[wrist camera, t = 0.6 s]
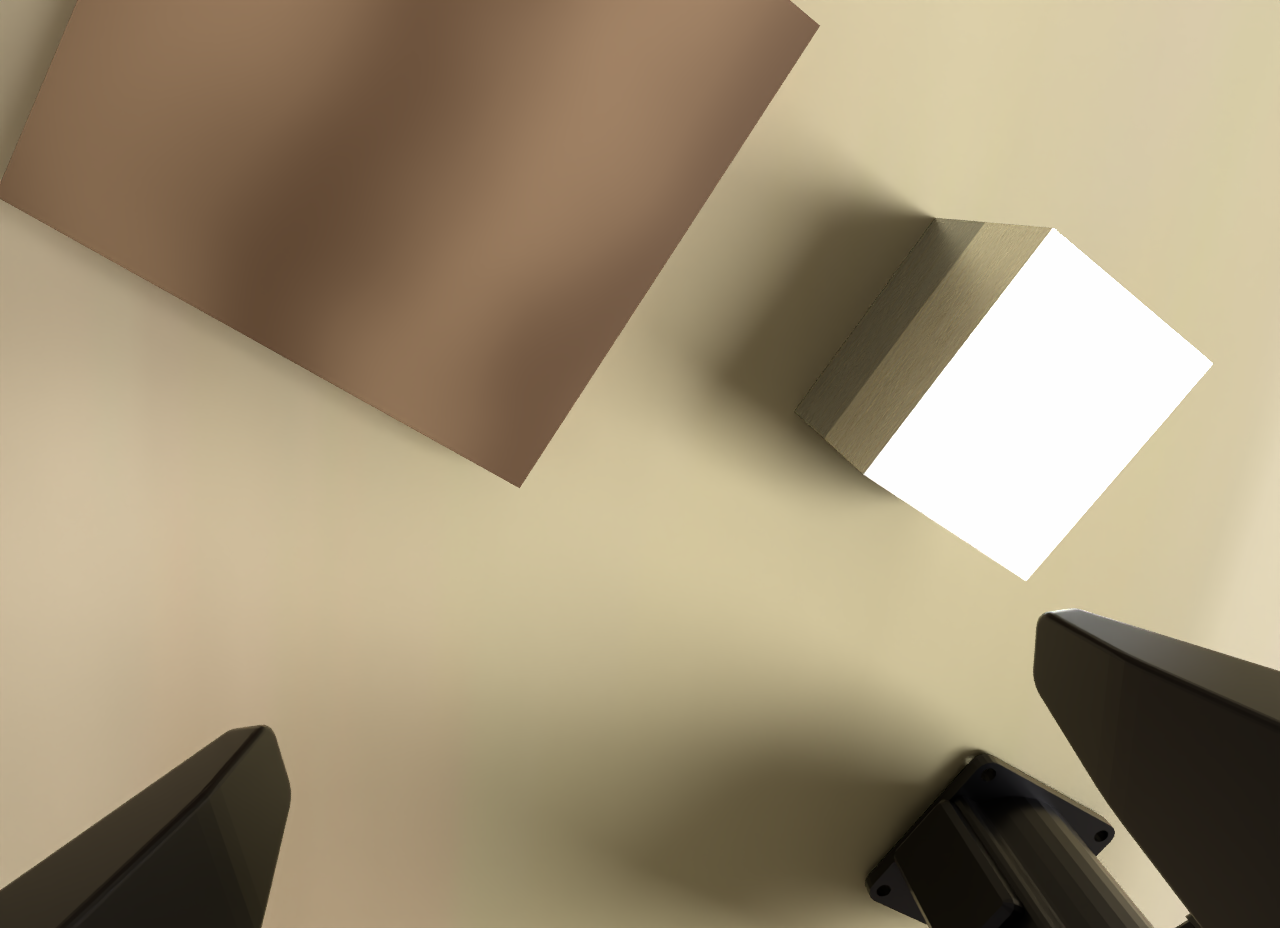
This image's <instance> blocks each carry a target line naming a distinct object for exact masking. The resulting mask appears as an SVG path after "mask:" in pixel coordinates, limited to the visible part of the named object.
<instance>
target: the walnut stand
mask: <svg viewBox="0 0 1280 928" xmlns="http://www.w3.org/2000/svg"><path fill="white" fill-rule="evenodd" d="M819 26H820V25H818V24H817V23H816V22H815V21H814V20H813V19H811V18H810V17H809V16H808V15H807V14H805V13H804V12H803V11H802V10H801V9H800V8H798V7H797V6H796V5H795V4H794V3H792V2H791V1H790V0H77V3H76V5H75V7H74V10H73V12H72V14H71V17H70V19H69V22H68V24H67V26H66V29H65V31H64V33H63V36H62V38H61V41H60V43H59V45H58V48H57V50H56V52H55V55H54V57H53V60H52V62H51V64H50V67H49V69H48V71H47V74H46V76H45V79H44V81H43V83H42V86H41V88H40V90H39V93H38V95H37V98H36V100H35V102H34V105H33V107H32V109H31V112H30V114H29V117H28V119H27V121H26V124H25V126H24V128H23V131H22V133H21V135H20V138H19V140H18V143H17V145H16V147H15V150H14V152H13V154H12V157H11V159H10V162H9V164H8V166H7V169H6V171H5V173H4V176H3V178H2V181H1V183H0V199H2V200H3V201H5V202H7V203H9V204H11V205H12V206H14V207H16V208H18V209H20V210H21V211H23V212H25V213H27V214H29V215H30V216H32V217H34V218H36V219H38V220H39V221H41V222H43V223H45V224H46V225H48V226H50V227H52V228H54V229H55V230H57V231H59V232H61V233H63V234H64V235H66V236H68V237H70V238H72V239H73V240H75V241H77V242H79V243H81V244H82V245H84V246H86V247H88V248H90V249H91V250H93V251H95V252H97V253H99V254H100V255H102V256H104V257H106V258H108V259H109V260H111V261H113V262H115V263H116V264H118V265H120V266H122V267H124V268H125V269H127V270H129V271H131V272H133V273H134V274H136V275H138V276H140V277H142V278H143V279H145V280H147V281H149V282H151V283H152V284H154V285H156V286H158V287H160V288H161V289H163V290H165V291H167V292H169V293H170V294H172V295H174V296H176V297H177V298H179V299H181V300H183V301H185V302H186V303H188V304H190V305H192V306H194V307H195V308H197V309H199V310H201V311H203V312H204V313H206V314H208V315H210V316H212V317H213V318H215V319H217V320H219V321H221V322H222V323H224V324H226V325H228V326H230V327H231V328H233V329H235V330H237V331H239V332H240V333H242V334H244V335H246V336H247V337H249V338H251V339H253V340H255V341H256V342H258V343H260V344H262V345H264V346H265V347H267V348H269V349H271V350H273V351H274V352H276V353H278V354H280V355H282V356H283V357H285V358H287V359H289V360H291V361H292V362H294V363H296V364H298V365H300V366H301V367H303V368H305V369H307V370H309V371H310V372H312V373H314V374H316V375H317V376H319V377H321V378H323V379H325V380H326V381H328V382H330V383H332V384H334V385H335V386H337V387H339V388H341V389H343V390H344V391H346V392H348V393H350V394H352V395H353V396H355V397H357V398H359V399H361V400H362V401H364V402H366V403H368V404H370V405H371V406H373V407H375V408H377V409H378V410H380V411H382V412H384V413H386V414H387V415H389V416H391V417H393V418H395V419H396V420H398V421H400V422H402V423H404V424H405V425H407V426H409V427H411V428H413V429H414V430H416V431H418V432H420V433H422V434H423V435H425V436H427V437H429V438H431V439H432V440H434V441H436V442H438V443H440V444H441V445H443V446H445V447H447V448H448V449H450V450H452V451H454V452H456V453H457V454H459V455H461V456H463V457H465V458H466V459H468V460H470V461H472V462H474V463H475V464H477V465H479V466H481V467H483V468H484V469H486V470H488V471H490V472H492V473H493V474H495V475H497V476H499V477H501V478H502V479H504V480H506V481H508V482H509V483H511V484H513V485H515V486H517V487H518V488H520V487H521V485H522V483H523V482H524V480H525V479H526V477H527V476H528V474H529V473H530V471H531V470H532V468H533V467H534V465H535V463H536V462H537V460H538V459H539V457H540V456H541V454H542V453H543V451H544V450H545V448H546V447H547V445H548V443H549V442H550V440H551V439H552V437H553V436H554V434H555V433H556V431H557V430H558V428H559V427H560V425H561V423H562V422H563V420H564V419H565V417H566V416H567V414H568V413H569V411H570V410H571V408H572V407H573V405H574V403H575V402H576V400H577V399H578V397H579V396H580V394H581V393H582V391H583V390H584V388H585V387H586V385H587V383H588V382H589V380H590V379H591V377H592V376H593V374H594V373H595V371H596V370H597V368H598V367H599V365H600V363H601V362H602V360H603V359H604V357H605V356H606V354H607V353H608V351H609V350H610V348H611V347H612V345H613V343H614V342H615V340H616V339H617V337H618V336H619V334H620V333H621V331H622V330H623V328H624V327H625V325H626V323H627V322H628V320H629V319H630V317H631V316H632V314H633V313H634V311H635V310H636V308H637V307H638V305H639V303H640V302H641V300H642V299H643V297H644V296H645V294H646V293H647V291H648V290H649V288H650V287H651V285H652V283H653V282H654V280H655V279H656V277H657V276H658V274H659V273H660V271H661V270H662V268H663V267H664V265H665V263H666V262H667V260H668V259H669V257H670V256H671V254H672V253H673V251H674V250H675V248H676V247H677V245H678V243H679V242H680V240H681V239H682V237H683V236H684V234H685V233H686V231H687V230H688V228H689V226H690V225H691V223H692V222H693V220H694V219H695V217H696V216H697V214H698V213H699V211H700V210H701V208H702V206H703V205H704V203H705V202H706V200H707V199H708V197H709V196H710V194H711V193H712V191H713V190H714V188H715V186H716V185H717V183H718V182H719V180H720V179H721V177H722V176H723V174H724V173H725V171H726V170H727V168H728V166H729V165H730V163H731V162H732V160H733V159H734V157H735V156H736V154H737V153H738V151H739V150H740V148H741V146H742V145H743V143H744V142H745V140H746V139H747V137H748V136H749V134H750V133H751V131H752V130H753V128H754V126H755V125H756V123H757V122H758V120H759V119H760V117H761V116H762V114H763V113H764V111H765V110H766V108H767V106H768V105H769V103H770V102H771V100H772V99H773V97H774V96H775V94H776V93H777V91H778V90H779V88H780V86H781V85H782V83H783V82H784V80H785V79H786V77H787V76H788V74H789V73H790V71H791V70H792V68H793V66H794V65H795V63H796V62H797V60H798V59H799V57H800V56H801V54H802V53H803V51H804V50H805V48H806V46H807V45H808V43H809V42H810V40H811V39H812V37H813V36H814V34H815V33H816V31H817V30H818V28H819Z"/></svg>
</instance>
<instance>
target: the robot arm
mask: <svg viewBox="0 0 1280 928" xmlns="http://www.w3.org/2000/svg"><path fill="white" fill-rule="evenodd" d="M1033 676H1034V681H1035V685H1036V688H1037V690H1038V692H1039V694H1040V696H1041V698H1042V699H1043V701H1044V703H1045V704H1046V706H1047V707H1048V709H1049V711H1050V712H1051V714H1052V716H1053V717H1054V719H1055V720H1056V722H1057V724H1058V725H1059V727H1060V729H1061V730H1062V732H1063V733H1064V735H1065V737H1066V738H1067V740H1068V741H1069V743H1070V745H1071V746H1072V748H1073V750H1074V751H1075V753H1076V754H1077V756H1078V758H1079V759H1080V761H1081V763H1082V764H1083V766H1084V767H1085V769H1086V771H1087V772H1088V774H1089V776H1090V777H1091V779H1092V780H1093V782H1094V784H1095V785H1096V787H1097V788H1098V790H1099V791H1100V793H1101V794H1102V796H1103V797H1104V799H1105V800H1106V802H1107V803H1108V805H1109V806H1110V808H1111V809H1112V810H1113V812H1114V813H1115V814H1116V816H1117V817H1118V819H1119V820H1120V821H1121V823H1122V824H1123V825H1124V827H1125V828H1126V829H1127V831H1128V832H1129V833H1130V835H1131V836H1132V837H1133V838H1134V840H1135V841H1136V842H1137V844H1138V845H1139V846H1140V848H1141V849H1142V850H1143V852H1144V853H1145V854H1146V856H1147V857H1148V858H1149V860H1150V861H1151V862H1152V863H1153V865H1154V866H1155V867H1156V869H1157V870H1158V871H1159V873H1160V874H1161V875H1162V877H1163V878H1164V879H1165V881H1166V882H1167V883H1168V884H1169V886H1170V887H1171V888H1172V890H1173V891H1174V892H1175V894H1176V895H1177V896H1178V898H1179V899H1180V900H1181V902H1182V903H1183V904H1184V905H1185V907H1186V908H1187V909H1188V911H1189V912H1190V914H1188V915H1187V916H1185V917H1186V918H1187V919H1188V920H1187V921H1185V922H1184V923H1182V924H1181V925H1179V926H1177V927H1176V928H1280V671H1277V670H1274V669H1271V668H1268V667H1264V666H1261V665H1258V664H1255V663H1252V662H1248V661H1245V660H1242V659H1239V658H1235V657H1232V656H1229V655H1226V654H1223V653H1219V652H1216V651H1213V650H1210V649H1206V648H1203V647H1200V646H1197V645H1193V644H1190V643H1187V642H1184V641H1181V640H1177V639H1174V638H1171V637H1168V636H1164V635H1161V634H1158V633H1155V632H1152V631H1148V630H1145V629H1142V628H1139V627H1135V626H1132V625H1129V624H1126V623H1122V622H1119V621H1116V620H1113V619H1110V618H1106V617H1103V616H1100V615H1097V614H1093V613H1090V612H1087V611H1084V610H1081V609H1065V610H1058V611H1051V612H1046V613H1044V614H1042V615H1041V616H1040V617H1039V619H1038V622H1037V627H1036V639H1035V653H1034V666H1033ZM986 769H988V770H986ZM985 770H986V771H985ZM983 771H985V772H983ZM290 801H291V788H290V782H289V779H288V775H287V772H286V769H285V765H284V762H283V759H282V756H281V752H280V749H279V746H278V742H277V739H276V736H275V734H274V732H273V731H272V729H271V728H270V727H268V726H266V725H257V726H250V727H243V728H236V729H232V730H229V731H227V732H226V733H224V734H223V735H221V736H220V737H219V738H217V739H216V740H214V741H213V742H211V743H210V744H209V745H207V746H206V747H204V748H203V749H201V750H200V751H199V752H197V753H196V754H194V755H193V756H191V757H190V758H189V759H187V760H186V761H184V762H183V763H181V764H180V765H179V766H177V767H176V768H174V769H173V770H171V771H170V772H169V773H167V774H166V775H164V776H163V777H161V778H160V779H159V780H157V781H156V782H154V783H153V784H151V785H150V786H149V787H147V788H146V789H144V790H143V791H141V792H140V793H139V794H137V795H136V796H134V797H133V798H131V799H130V800H129V801H127V802H126V803H124V804H123V805H121V806H120V807H119V808H117V809H116V810H114V811H113V812H111V813H110V814H109V815H107V816H106V817H104V818H103V819H101V820H100V821H99V822H97V823H96V824H94V825H93V826H91V827H90V828H89V829H87V830H86V831H84V832H83V833H81V834H80V835H79V836H77V837H76V838H74V839H73V840H71V841H70V842H69V843H67V844H66V845H64V846H63V847H61V848H60V849H59V850H57V851H56V852H54V853H53V854H51V855H50V856H49V857H47V858H46V859H44V860H43V861H41V862H40V863H39V864H37V865H36V866H34V867H33V868H31V869H30V870H29V871H27V872H26V873H24V874H23V875H21V876H20V877H19V878H17V879H16V880H14V881H13V882H11V883H10V884H9V885H7V886H6V887H4V888H3V889H1V890H0V928H261V927H262V923H263V919H264V915H265V911H266V907H267V902H268V898H269V894H270V889H271V885H272V881H273V876H274V872H275V868H276V864H277V859H278V855H279V851H280V846H281V842H282V838H283V833H284V829H285V825H286V821H287V816H288V812H289V808H290ZM1114 834H1115V831H1114V828H1113V827H1112V826H1111V825H1110V824H1109V823H1108V821H1107V820H1106V819H1105V818H1104V817H1102V816H1100V815H1099V814H1097V813H1095V812H1093V811H1091V810H1090V809H1088V808H1086V807H1084V806H1082V805H1081V804H1079V803H1077V802H1075V801H1073V800H1072V799H1070V798H1068V797H1066V796H1064V795H1063V794H1061V793H1059V792H1057V791H1055V790H1053V789H1052V788H1050V787H1048V786H1046V785H1044V784H1043V783H1041V782H1039V781H1037V780H1035V779H1034V778H1032V777H1030V776H1028V775H1026V774H1025V773H1023V772H1021V771H1019V770H1017V769H1016V768H1014V767H1012V766H1010V765H1008V764H1007V763H1005V762H1003V761H1001V760H999V759H998V758H996V757H994V756H992V755H989V754H981V755H979V756H977V757H975V758H974V759H973V760H971V761H970V763H969V764H968V765H967V766H966V767H965V768H964V769H963V770H962V772H961V773H960V774H959V775H958V776H957V777H956V778H955V779H954V780H953V782H952V783H951V784H950V785H949V786H948V787H947V788H946V789H945V791H944V792H943V793H942V794H941V795H940V796H939V797H938V798H937V799H936V801H935V802H934V803H933V804H932V805H931V806H930V807H929V808H928V810H927V811H926V812H925V813H924V814H923V815H922V816H921V817H920V818H919V820H918V821H917V822H916V823H915V824H914V825H913V826H912V827H911V829H910V830H909V831H908V832H907V833H906V834H905V835H904V836H903V837H902V839H901V840H900V841H899V842H898V843H897V844H896V845H895V846H894V848H893V849H892V850H891V851H890V852H889V853H888V854H887V855H886V856H885V858H884V859H883V860H882V861H881V862H880V863H879V864H878V865H877V866H876V868H875V869H874V870H873V871H872V872H871V873H870V874H869V875H868V877H867V878H866V880H865V886H866V888H867V890H868V892H869V895H870V897H871V898H872V899H873V900H874V901H876V902H878V903H881V904H883V905H885V906H887V907H889V908H892V909H894V910H896V911H898V912H900V913H903V914H905V915H907V916H909V917H911V918H914V919H916V920H918V921H920V922H922V923H925V924H927V925H928V927H929V928H1154V927H1153V926H1152V925H1151V923H1150V922H1149V921H1148V920H1147V918H1146V917H1145V916H1144V915H1143V914H1142V912H1141V911H1140V910H1139V909H1138V907H1137V906H1136V905H1135V904H1134V903H1133V901H1132V900H1131V899H1130V898H1129V896H1128V895H1127V894H1126V893H1125V892H1124V890H1123V889H1122V888H1121V887H1120V885H1119V884H1118V883H1117V882H1116V881H1115V879H1114V878H1113V877H1112V876H1111V874H1110V873H1109V872H1108V871H1107V870H1106V868H1105V867H1104V866H1103V865H1102V864H1101V862H1100V861H1099V860H1098V859H1097V857H1096V856H1097V855H1098V854H1099V853H1100V852H1101V851H1102V850H1103V849H1104V848H1105V847H1106V846H1107V845H1108V844H1109V843H1110V842H1111V840H1112V839H1113V837H1114Z"/></svg>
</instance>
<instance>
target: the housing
mask: <svg viewBox="0 0 1280 928" xmlns="http://www.w3.org/2000/svg"><path fill="white" fill-rule="evenodd" d="M1212 364H1213V363H1212V362H1210V361H1209V360H1208V359H1207V358H1206V357H1205V356H1203V355H1202V354H1201V353H1200V352H1199V351H1197V350H1196V349H1195V348H1194V347H1193V346H1192V345H1190V344H1189V343H1188V342H1187V341H1186V340H1185V339H1183V338H1182V337H1181V336H1180V335H1179V334H1177V333H1176V332H1175V331H1174V330H1173V329H1172V328H1170V327H1169V326H1168V325H1167V324H1166V323H1164V322H1163V321H1162V320H1161V319H1160V318H1159V317H1157V316H1156V315H1155V314H1154V313H1153V312H1152V311H1150V310H1149V309H1148V308H1147V307H1146V306H1144V305H1143V304H1142V303H1141V302H1140V301H1139V300H1137V299H1136V298H1135V297H1134V296H1133V295H1131V294H1130V293H1129V292H1128V291H1127V290H1126V289H1124V288H1123V287H1122V286H1121V285H1120V284H1118V283H1117V282H1116V281H1115V280H1114V279H1113V278H1111V277H1110V276H1109V275H1108V274H1107V273H1106V272H1104V271H1103V270H1102V269H1101V268H1100V267H1098V266H1097V265H1096V264H1095V263H1094V262H1093V261H1091V260H1090V259H1089V258H1088V257H1087V256H1085V255H1084V254H1083V253H1082V252H1081V251H1080V250H1078V249H1077V248H1076V247H1075V246H1074V245H1073V244H1071V243H1070V242H1069V241H1068V240H1067V239H1065V238H1064V237H1063V236H1062V235H1061V234H1060V233H1058V232H1057V231H1056V230H1055V229H1054V228H1046V227H1035V226H1023V225H1012V224H1000V223H988V222H977V221H965V220H954V219H942V218H935V219H934V220H933V222H932V223H931V225H930V226H929V227H928V229H927V230H926V231H925V233H924V234H923V236H922V237H921V238H920V240H919V241H918V242H917V244H916V245H915V247H914V248H913V249H912V251H911V252H910V253H909V255H908V256H907V258H906V259H905V260H904V262H903V263H902V264H901V266H900V267H899V269H898V270H897V271H896V273H895V274H894V275H893V277H892V278H891V279H890V281H889V282H888V284H887V285H886V286H885V288H884V289H883V290H882V292H881V293H880V295H879V296H878V297H877V299H876V300H875V301H874V303H873V304H872V306H871V307H870V308H869V310H868V311H867V312H866V314H865V315H864V317H863V318H862V319H861V321H860V322H859V323H858V325H857V326H856V328H855V329H854V330H853V332H852V333H851V334H850V336H849V337H848V338H847V340H846V341H845V343H844V344H843V345H842V347H841V348H840V349H839V351H838V352H837V354H836V355H835V356H834V358H833V359H832V360H831V362H830V363H829V365H828V366H827V367H826V369H825V370H824V371H823V373H822V374H821V376H820V377H819V378H818V380H817V381H816V382H815V384H814V385H813V387H812V388H811V389H810V391H809V392H808V393H807V395H806V396H805V397H804V399H803V400H802V402H801V403H800V404H799V406H798V407H797V408H796V410H795V411H794V412H795V413H796V414H798V415H799V416H800V417H801V418H802V419H803V420H804V421H805V422H806V423H807V424H809V425H810V426H811V427H812V428H813V429H814V430H815V431H816V432H817V433H818V434H819V435H821V436H822V437H823V438H824V439H825V440H826V441H827V442H828V443H829V444H830V445H832V446H833V447H834V448H835V449H836V450H837V451H838V452H839V453H840V454H841V455H843V456H844V457H845V458H846V459H847V460H848V461H849V462H850V463H851V464H852V465H853V466H855V467H856V468H857V469H858V470H859V471H860V472H861V473H862V474H863V475H865V476H866V477H868V478H869V479H871V480H873V481H874V482H876V483H877V484H879V485H880V486H882V487H883V488H885V489H886V490H888V491H889V492H891V493H892V494H894V495H895V496H897V497H898V498H900V499H902V500H903V501H905V502H906V503H908V504H909V505H911V506H912V507H914V508H915V509H917V510H918V511H920V512H921V513H923V514H924V515H926V516H927V517H929V518H931V519H932V520H934V521H935V522H937V523H938V524H940V525H941V526H943V527H944V528H946V529H947V530H949V531H950V532H952V533H953V534H955V535H956V536H958V537H960V538H961V539H963V540H964V541H966V542H967V543H969V544H970V545H972V546H973V547H975V548H976V549H978V550H979V551H981V552H982V553H984V554H986V555H987V556H989V557H990V558H992V559H993V560H995V561H996V562H998V563H999V564H1001V565H1002V566H1004V567H1005V568H1007V569H1008V570H1010V571H1011V572H1013V573H1015V574H1016V575H1018V576H1019V577H1021V578H1022V579H1024V580H1025V581H1026V580H1027V579H1028V578H1029V577H1030V576H1031V575H1032V573H1033V572H1034V571H1035V570H1036V569H1037V568H1038V566H1039V565H1040V564H1041V563H1042V562H1043V561H1044V559H1045V558H1046V557H1047V556H1048V555H1049V554H1050V552H1051V551H1052V550H1053V549H1054V548H1055V547H1056V545H1057V544H1058V543H1059V542H1060V541H1061V540H1062V539H1063V537H1064V536H1065V535H1066V534H1067V533H1068V532H1069V530H1070V529H1071V528H1072V527H1073V526H1074V525H1075V523H1076V522H1077V521H1078V520H1079V519H1080V518H1081V516H1082V515H1083V514H1084V513H1085V512H1086V511H1087V509H1088V508H1089V507H1090V506H1091V505H1092V504H1093V502H1094V501H1095V500H1096V499H1097V498H1098V497H1099V495H1100V494H1101V493H1102V492H1103V491H1104V490H1105V488H1106V487H1107V486H1108V485H1109V484H1110V483H1111V481H1112V480H1113V479H1114V478H1115V477H1116V476H1117V475H1118V473H1119V472H1120V471H1121V470H1122V469H1123V468H1124V466H1125V465H1126V464H1127V463H1128V462H1129V461H1130V459H1131V458H1132V457H1133V456H1134V455H1135V454H1136V452H1137V451H1138V450H1139V449H1140V448H1141V447H1142V445H1143V444H1144V443H1145V442H1146V441H1147V440H1148V438H1149V437H1150V436H1151V435H1152V434H1153V433H1154V431H1155V430H1156V429H1157V428H1158V427H1159V426H1160V424H1161V423H1162V422H1163V421H1164V420H1165V419H1166V418H1167V416H1168V415H1169V414H1170V413H1171V412H1172V411H1173V409H1174V408H1175V407H1176V406H1177V405H1178V404H1179V402H1180V401H1181V400H1182V399H1183V398H1184V397H1185V395H1186V394H1187V393H1188V392H1189V391H1190V390H1191V388H1192V387H1193V386H1194V385H1195V384H1196V383H1197V381H1198V380H1199V379H1200V378H1201V377H1202V376H1203V374H1204V373H1205V372H1206V371H1207V370H1208V369H1209V367H1210V366H1211V365H1212Z"/></svg>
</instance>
